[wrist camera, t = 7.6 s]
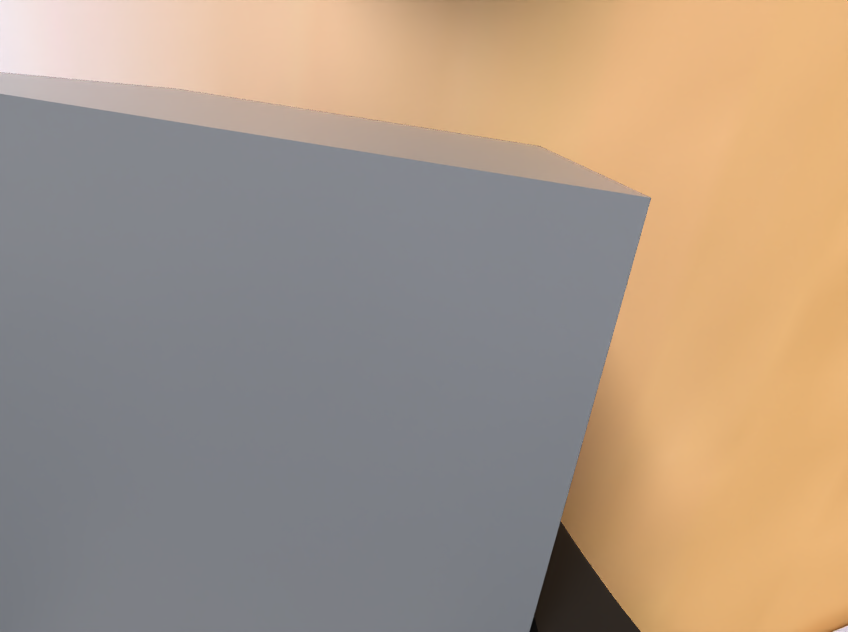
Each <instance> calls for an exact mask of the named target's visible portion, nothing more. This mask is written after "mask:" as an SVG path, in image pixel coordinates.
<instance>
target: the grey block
mask: <svg viewBox="0 0 848 632" xmlns="http://www.w3.org/2000/svg"><path fill="white" fill-rule="evenodd" d="M650 200H651V198H650V197H648V196H646V195H644V194H642V193H640V192H637V191H635V190H633V189H631V188H629V187H627V186H624V185H622V184H620V183H618V182H616V181H614V180H612V179H609V178H607V177H605V176H603V175H601V174H599V173H597V172H594V171H592V170H590V169H588V168H586V167H584V166H581V165H579V164H577V163H575V162H573V161H571V160H569V159H566V158H564V157H562V156H560V155H558V154H556V153H553V152H551V151H549V150H547V149H545V148H543V147H541V146H536V145H529V144H523V143H517V142H510V141H504V140H498V139H491V138H485V137H479V136H472V135H466V134H460V133H453V132H447V131H441V130H434V129H428V128H422V127H415V126H409V125H403V124H397V123H390V122H384V121H378V120H371V119H365V118H359V117H352V116H346V115H340V114H333V113H327V112H321V111H314V110H308V109H302V108H295V107H289V106H283V105H276V104H270V103H264V102H257V101H251V100H245V99H238V98H232V97H226V96H220V95H213V94H207V93H201V92H194V91H188V90H182V89H174V88H163V87H153V86H142V85H131V84H120V83H110V82H99V81H88V80H77V79H67V78H56V77H45V76H34V75H24V74H13V73H2V72H0V632H529V631H530V628H531V624H532V621H533V617H534V613H535V610H536V606H537V603H538V599H539V596H540V592H541V589H542V585H543V581H544V578H545V574H546V571H547V567H548V564H549V560H550V556H551V553H552V549H553V546H554V542H555V539H556V535H557V531H558V528H559V524H560V521H561V517H562V514H563V510H564V506H565V503H566V499H567V496H568V492H569V489H570V485H571V482H572V478H573V474H574V471H575V467H576V464H577V460H578V457H579V453H580V449H581V446H582V442H583V439H584V435H585V432H586V428H587V424H588V421H589V417H590V414H591V410H592V407H593V403H594V399H595V396H596V392H597V389H598V385H599V382H600V378H601V375H602V371H603V367H604V364H605V360H606V357H607V353H608V350H609V346H610V342H611V339H612V335H613V332H614V328H615V325H616V321H617V317H618V314H619V310H620V307H621V303H622V300H623V296H624V292H625V289H626V285H627V282H628V278H629V275H630V271H631V268H632V264H633V260H634V257H635V253H636V250H637V246H638V243H639V239H640V235H641V232H642V228H643V225H644V221H645V218H646V214H647V210H648V207H649V203H650Z"/></svg>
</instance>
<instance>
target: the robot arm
mask: <svg viewBox="0 0 848 632" xmlns="http://www.w3.org/2000/svg"><path fill="white" fill-rule="evenodd" d="M529 632H641V631H640V630H639V629H638V628H637V626H636V625H635V624H634V623H633V621H632V620H631V619H630V618H629V616H628V615H627V614H626V613H625V611H624V610H623V609H622V608H621V606H620V605H619V604H618V602H617V601H616V600H615V598H614V597H613V596H612V595H611V593H610V592H609V590H608V589H607V588H606V586H605V585H604V583H603V582H602V581H601V579H600V578H599V576H598V575H597V574H596V572H595V571H594V569H593V568H592V567H591V565H590V564H589V562H588V561H587V560H586V558H585V557H584V555H583V554H582V552H581V551H580V549H579V548H578V546H577V545H576V544H575V542H574V541H573V539H572V538H571V536H570V535H569V533H568V531H567V530H566V528H565V527H564V525H563V524H562V522H561V521H560V524H559V528H558V531H557V535H556V539H555V542H554V546H553V549H552V553H551V556H550V560H549V564H548V567H547V571H546V574H545V578H544V581H543V585H542V589H541V592H540V596H539V599H538V603H537V606H536V610H535V613H534V617H533V621H532V624H531V628H530V631H529ZM833 632H848V625H847V626H845V627H843V628H840V629H838V630H835V631H833Z"/></svg>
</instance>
